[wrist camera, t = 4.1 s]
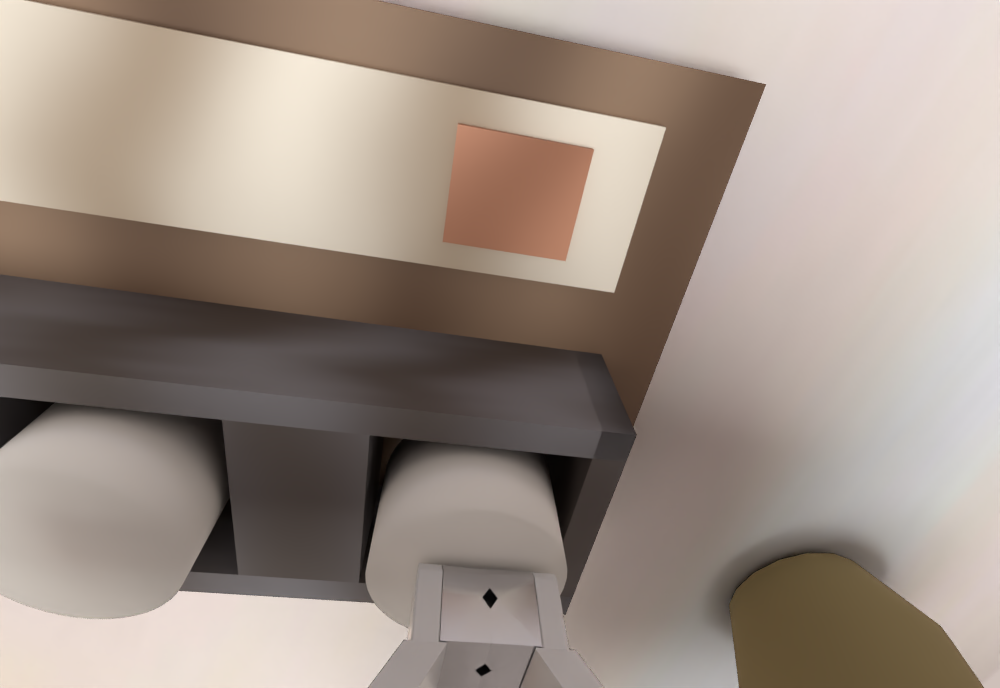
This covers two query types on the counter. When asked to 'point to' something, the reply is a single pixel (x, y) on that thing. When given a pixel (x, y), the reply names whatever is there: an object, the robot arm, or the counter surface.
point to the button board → (347, 249)
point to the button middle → (107, 508)
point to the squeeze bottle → (836, 631)
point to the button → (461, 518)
